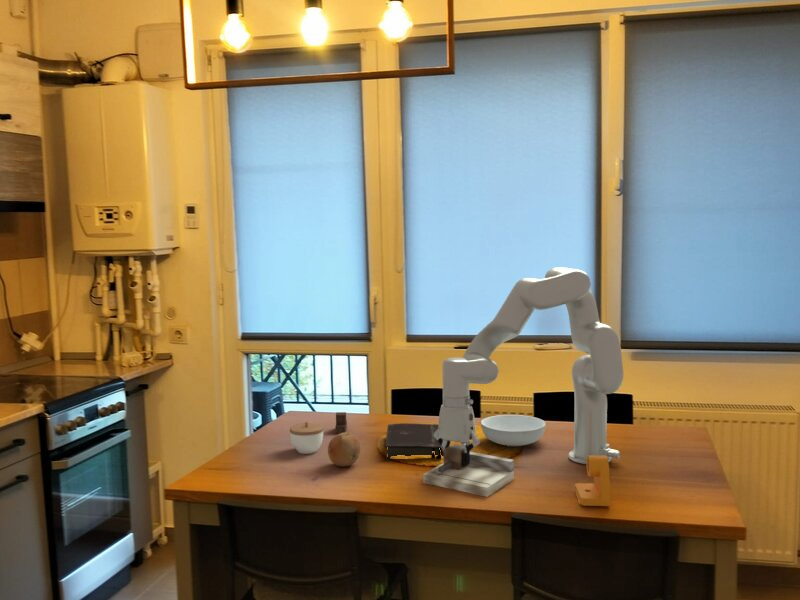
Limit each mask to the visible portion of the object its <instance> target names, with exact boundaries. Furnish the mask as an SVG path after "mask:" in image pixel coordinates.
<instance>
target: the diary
mask: <svg viewBox="0 0 800 600" xmlns="http://www.w3.org/2000/svg"><path fill="white" fill-rule="evenodd" d="M438 425H439V423H413V422H411V423H407V422H406V423H388V424H387V427H386V428H387V431H386V437H385V439H384V441H385V443H384V447H385V448H387V447H388V450H387V453H388V457H386V456H385V459H384V460H385V461H389V460H391V461H393V460H392V459H390V457H391V456H397V455H405V456H411V455H432V456H433V454H432V451H435V455H438V456H440V450H441V455H442V456H443V449H442V446H441V445H440V443H439V442H438V440H437V439H436V438H435V437H434V436H433V434H434V433H435V432H436V430H437V429H438ZM439 448H440V450H439Z"/></svg>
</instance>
